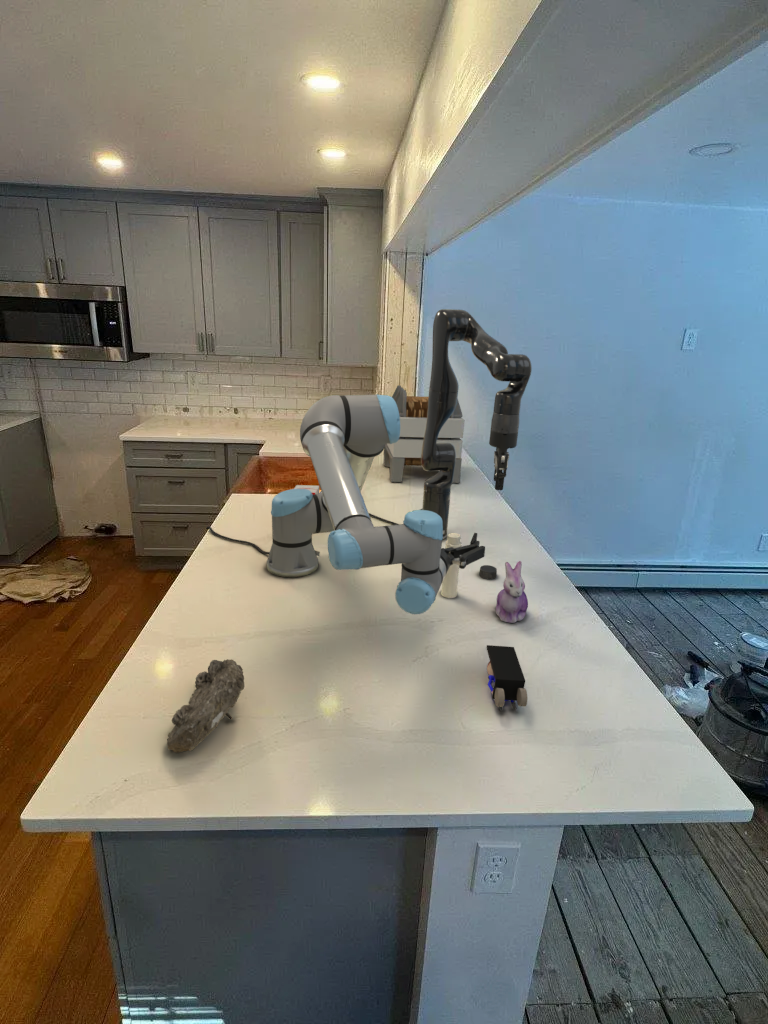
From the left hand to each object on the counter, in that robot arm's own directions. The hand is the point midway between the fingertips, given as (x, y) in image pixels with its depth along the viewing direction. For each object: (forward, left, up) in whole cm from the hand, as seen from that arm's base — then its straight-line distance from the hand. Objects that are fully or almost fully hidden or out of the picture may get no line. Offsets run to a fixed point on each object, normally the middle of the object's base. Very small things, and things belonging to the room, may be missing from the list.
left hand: (448, 533), depth 142 cm
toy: (-62, +51, -22) cm, 83 cm away
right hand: (+9, +27, +6) cm, 29 cm away
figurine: (+18, +5, -22) cm, 29 cm away
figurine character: (+19, -29, -22) cm, 41 cm away
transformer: (-37, +128, -22) cm, 135 cm away
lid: (+9, +27, -20) cm, 35 cm away
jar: (0, +10, -22) cm, 25 cm away
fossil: (-33, -55, -22) cm, 68 cm away
